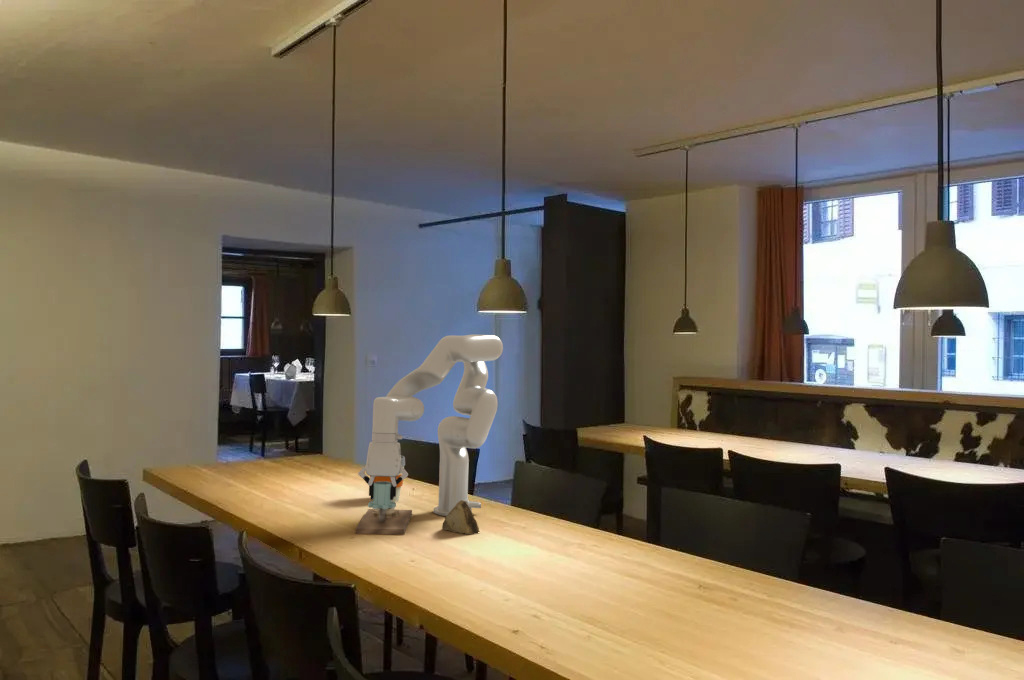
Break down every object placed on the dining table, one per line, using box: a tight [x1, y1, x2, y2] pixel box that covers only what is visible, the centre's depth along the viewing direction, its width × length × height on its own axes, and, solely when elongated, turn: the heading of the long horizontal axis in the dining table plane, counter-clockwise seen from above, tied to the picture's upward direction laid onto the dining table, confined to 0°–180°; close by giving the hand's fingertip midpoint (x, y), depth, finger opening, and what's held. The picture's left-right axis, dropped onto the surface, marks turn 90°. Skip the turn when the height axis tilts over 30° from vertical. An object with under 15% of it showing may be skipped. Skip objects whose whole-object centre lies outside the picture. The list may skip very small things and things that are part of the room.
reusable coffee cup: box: [369, 455, 406, 503], centre depth 261 cm, size 13×12×15 cm
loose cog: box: [367, 481, 397, 509], centre depth 222 cm, size 8×8×7 cm
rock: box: [441, 500, 481, 535], centre depth 220 cm, size 11×9×10 cm
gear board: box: [354, 508, 413, 535], centre depth 226 cm, size 14×25×7 cm, turn 3°
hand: (382, 498), depth 222 cm, fingers closed on loose cog, 5 cm apart
